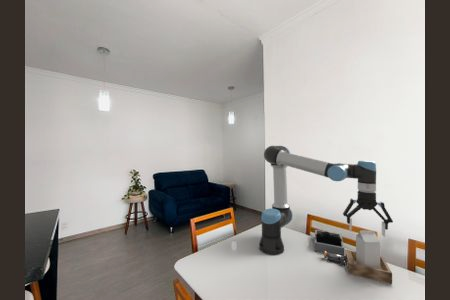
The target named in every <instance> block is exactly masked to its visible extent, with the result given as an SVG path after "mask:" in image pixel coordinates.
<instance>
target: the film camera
mask: <svg viewBox="0 0 450 300" xmlns="http://www.w3.org/2000/svg"><path fill="white" fill-rule="evenodd" d="M329 232H330V231H326V232H323V233H321V234H320V233H318V234H315V233H314V237H315V236H316V239H317V242H318V243H324V244H329V245H334V246H340V247H341V242H342V240H343V238H342V239H341V238H340V236H337V235H336V234H335V235H331V234H330V233H329Z"/></svg>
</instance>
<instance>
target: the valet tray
mask: <svg viewBox="0 0 450 300" xmlns="http://www.w3.org/2000/svg"><path fill="white" fill-rule="evenodd" d="M314 231H315V232H314V251H315V252H318V253H323V254H324V251H327V252H328V253H333V254H338V255H339V253H343V256H345V245H344V241H343V237H342V234H341V233H336V232H331V231H328V232H329V233H330V234H331V235H335V234H336V235H337V236H340V238H341V239H342V242H341V247H340V246H334V245H329V244H324V243H318V242H317V239H316V236H315V234H318V233H320V234H321V233H323V232H327V230H326V231H325V230H320V229H319V230H318V229H315V230H314Z"/></svg>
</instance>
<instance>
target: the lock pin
mask: <svg viewBox="0 0 450 300" xmlns="http://www.w3.org/2000/svg"><path fill="white" fill-rule="evenodd" d="M328 257H329V258H334V259H338V260H340V258H344V262H346V257H345V256H343V255H338V254H333V253H328V252H327V251H324V253H323V258H324V259H328Z"/></svg>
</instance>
